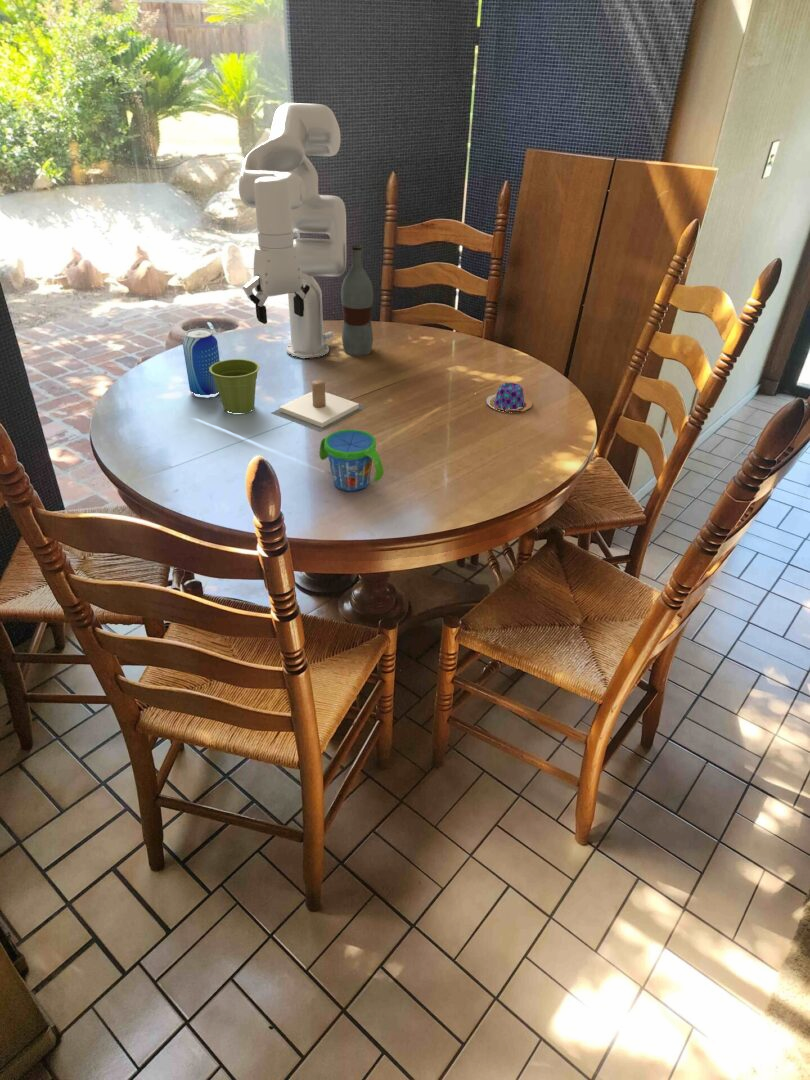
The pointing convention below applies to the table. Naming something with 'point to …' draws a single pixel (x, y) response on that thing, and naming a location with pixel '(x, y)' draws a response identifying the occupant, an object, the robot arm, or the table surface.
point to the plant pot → (236, 383)
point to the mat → (311, 423)
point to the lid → (319, 406)
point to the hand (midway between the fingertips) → (281, 318)
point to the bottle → (357, 308)
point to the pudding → (508, 396)
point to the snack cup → (351, 458)
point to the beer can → (201, 360)
